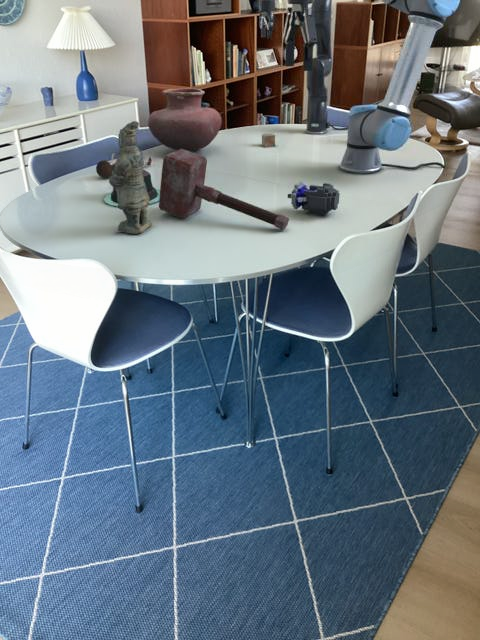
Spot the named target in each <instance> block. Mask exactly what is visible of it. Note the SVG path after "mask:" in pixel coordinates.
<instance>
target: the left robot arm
mask: <svg viewBox="0 0 480 640" xmlns="http://www.w3.org/2000/svg"><path fill="white" fill-rule="evenodd" d="M332 6H333V0H313V3H312V4H311V7H310V8H314V21H315V28H316V35H317V44H315V46H316V47H315V48H316V51H315V57H313V63H312V71H306V89H307V107H306V108H307V109H306V110H307V111H306V130H305V131H306V133H307V134H311V135H321V134H325V133H326V132H327V131H328V129H331V128H332V129H333V130H335V131H345V130H348V126H347V127H341V128H340V127H335V126H334V125H333V124H331V122H330V121H328V113H329V112H328V97H329V96H328V95H329V88H328V87H327V86H326V85H325V78H327V77H329V76H330V74H331V73H332V70H333V57H332V20H333V19H332V18H333V17H332V16H333V7H332ZM275 10H276V0H258V11H259V12H261V13H259V17H258V20H259V21H258V24H259V25H258V27H259V28H260V34H261V35H260V37H261V38H263V39H264V38H266V37H267V39H270V40H272V39H273V30H274V29H275V27H276V26H275V23H276V21H275V20H276V19H275V18H276V17H275V16H276V15H275V14H274V13H272V12H275Z"/></svg>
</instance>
